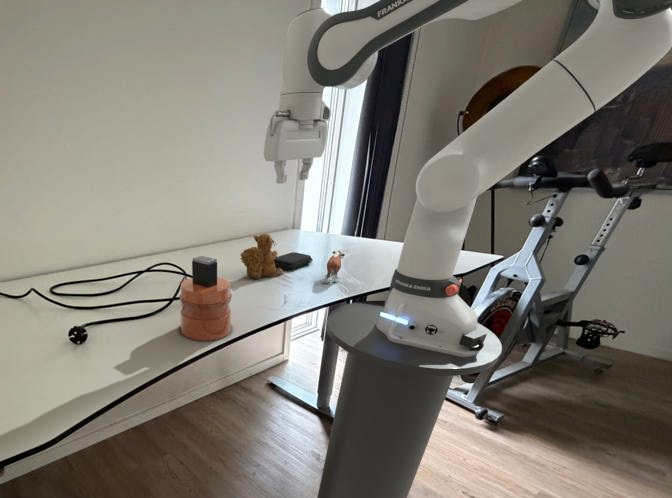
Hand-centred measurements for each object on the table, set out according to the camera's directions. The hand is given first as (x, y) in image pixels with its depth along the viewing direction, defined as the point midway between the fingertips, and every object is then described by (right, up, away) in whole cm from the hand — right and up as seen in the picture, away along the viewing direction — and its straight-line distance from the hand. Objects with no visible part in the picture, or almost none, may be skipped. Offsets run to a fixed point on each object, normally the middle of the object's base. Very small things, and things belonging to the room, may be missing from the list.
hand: (292, 181), depth 89 cm
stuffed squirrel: (-1, -14, +39) cm, 41 cm away
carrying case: (+13, -8, +48) cm, 50 cm away
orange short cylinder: (-20, -35, +4) cm, 40 cm away
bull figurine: (+22, -16, +34) cm, 43 cm away
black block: (-21, -25, -2) cm, 32 cm away
